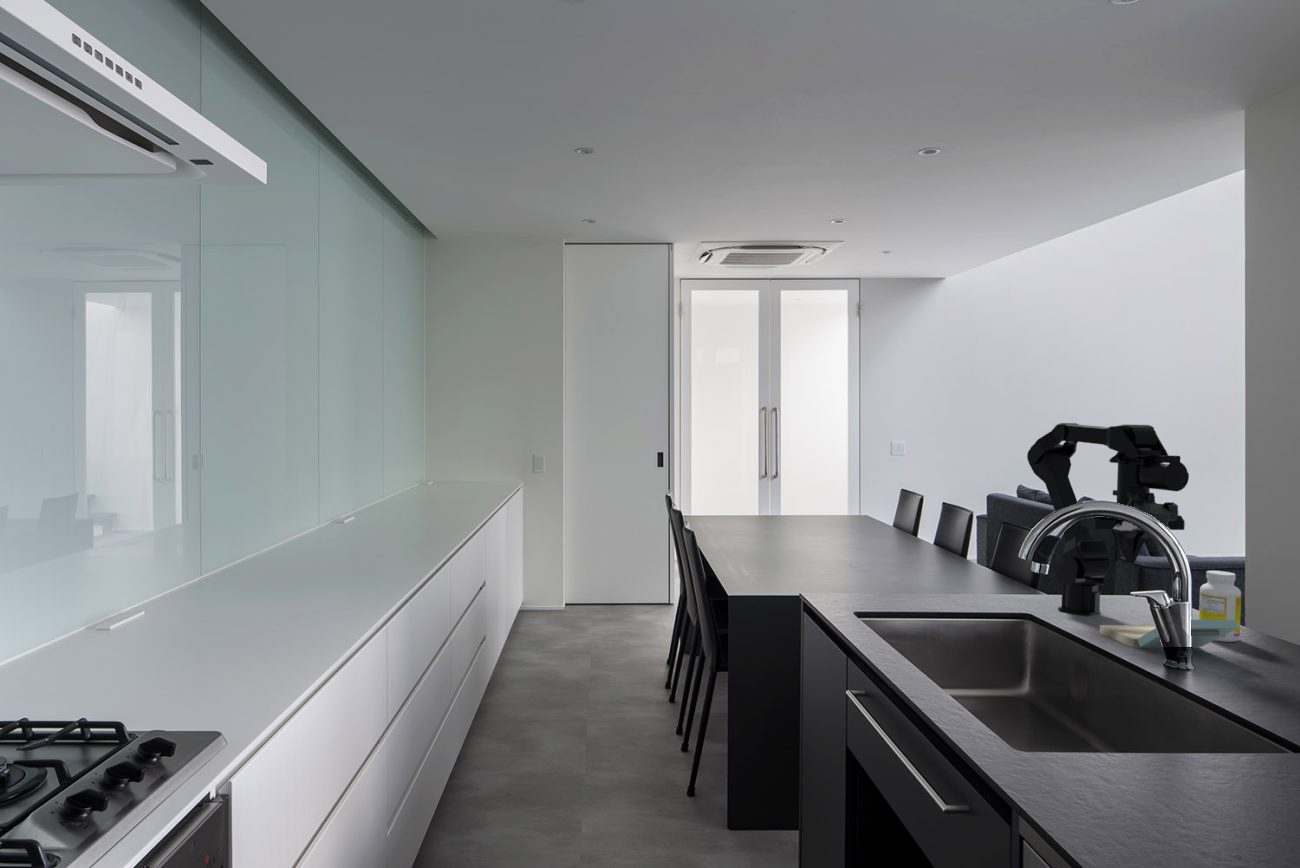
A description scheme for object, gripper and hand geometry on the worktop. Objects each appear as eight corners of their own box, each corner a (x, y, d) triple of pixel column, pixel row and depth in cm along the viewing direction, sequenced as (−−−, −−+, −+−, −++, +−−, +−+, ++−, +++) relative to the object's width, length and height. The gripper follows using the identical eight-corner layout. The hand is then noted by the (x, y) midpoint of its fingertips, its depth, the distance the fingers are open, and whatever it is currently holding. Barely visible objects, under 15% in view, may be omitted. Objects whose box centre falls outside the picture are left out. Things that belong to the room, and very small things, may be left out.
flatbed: (1099, 633, 164) (1099, 625, 164) (1162, 633, 165) (1162, 625, 165) (1133, 647, 154) (1133, 639, 154) (1199, 647, 156) (1199, 639, 155)
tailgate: (1137, 638, 154) (1169, 619, 146) (1198, 638, 155) (1234, 619, 147) (1141, 651, 153) (1174, 633, 144) (1203, 651, 154) (1239, 632, 145)
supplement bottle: (1226, 634, 166) (1229, 570, 165) (1247, 643, 159) (1250, 576, 159) (1191, 632, 166) (1193, 568, 166) (1209, 642, 160) (1212, 575, 159)
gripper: (1114, 489, 160) (1111, 571, 160) (1206, 491, 161) (1203, 571, 162) (1080, 484, 171) (1077, 560, 171) (1166, 485, 172) (1163, 561, 173)
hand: (1130, 563), depth 169 cm, fingers closed
